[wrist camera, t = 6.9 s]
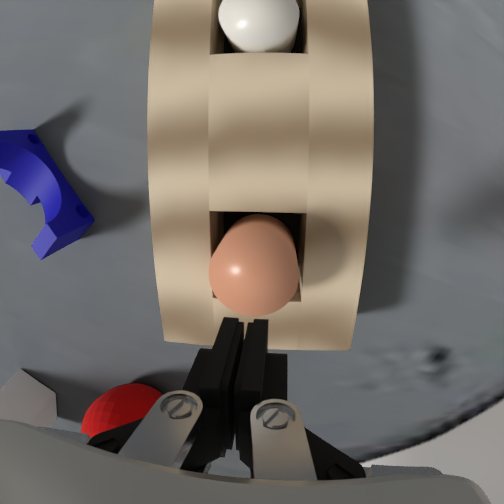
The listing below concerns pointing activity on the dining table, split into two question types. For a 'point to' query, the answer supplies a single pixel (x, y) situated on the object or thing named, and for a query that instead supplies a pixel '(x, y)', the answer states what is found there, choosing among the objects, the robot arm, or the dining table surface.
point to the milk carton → (27, 401)
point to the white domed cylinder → (260, 25)
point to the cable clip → (43, 190)
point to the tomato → (119, 407)
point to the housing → (261, 163)
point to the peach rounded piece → (255, 266)
